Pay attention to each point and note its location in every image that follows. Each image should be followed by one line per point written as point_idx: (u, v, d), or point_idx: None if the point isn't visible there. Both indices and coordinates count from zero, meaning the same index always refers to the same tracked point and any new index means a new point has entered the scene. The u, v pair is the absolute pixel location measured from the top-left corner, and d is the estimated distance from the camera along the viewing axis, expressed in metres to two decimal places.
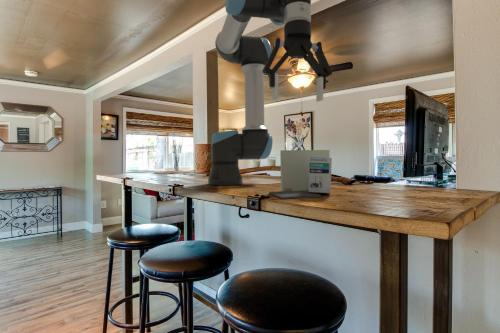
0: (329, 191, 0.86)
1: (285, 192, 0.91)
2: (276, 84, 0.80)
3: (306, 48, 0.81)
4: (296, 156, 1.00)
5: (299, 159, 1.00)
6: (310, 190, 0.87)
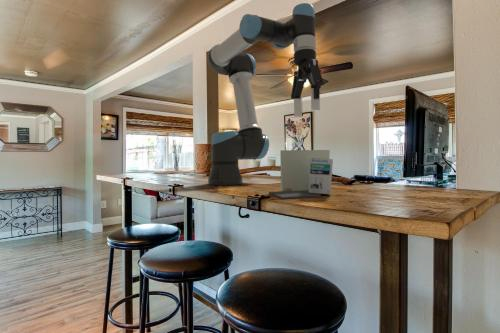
0: (329, 192, 0.86)
1: (285, 192, 0.91)
2: (294, 106, 1.07)
3: (302, 71, 0.98)
4: (296, 156, 1.00)
5: (299, 159, 1.00)
6: (310, 191, 0.87)
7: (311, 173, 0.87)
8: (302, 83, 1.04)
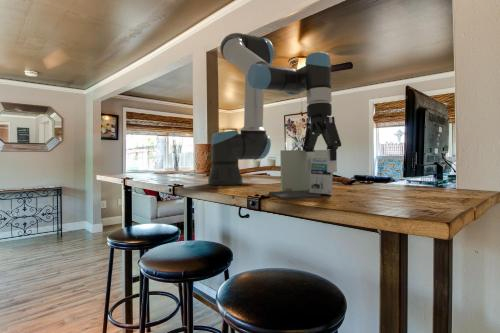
0: (330, 192, 0.86)
1: (285, 192, 0.91)
2: (306, 160, 0.97)
3: (317, 126, 0.89)
4: (296, 156, 1.00)
5: (299, 159, 1.00)
6: (311, 191, 0.87)
7: (312, 173, 0.87)
8: (316, 136, 0.94)
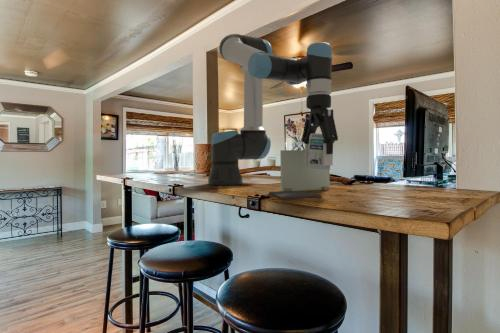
0: (328, 168, 0.87)
1: (285, 192, 0.91)
2: (305, 152, 0.98)
3: (315, 118, 0.89)
4: (296, 156, 1.00)
5: (299, 159, 1.00)
6: (309, 166, 0.88)
7: (311, 148, 0.87)
8: (314, 128, 0.95)
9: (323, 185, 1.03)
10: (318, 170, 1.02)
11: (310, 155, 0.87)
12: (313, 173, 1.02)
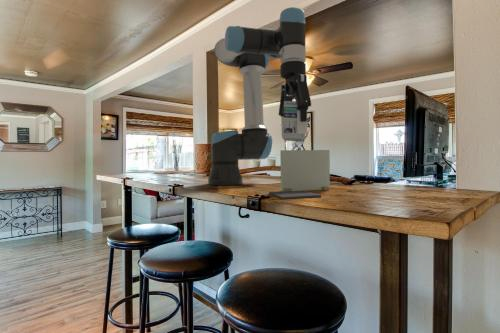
0: (303, 136, 0.83)
1: (285, 192, 0.91)
2: (281, 125, 0.94)
3: (289, 86, 0.85)
4: (296, 156, 1.00)
5: (299, 159, 1.00)
6: (283, 135, 0.84)
7: (284, 117, 0.83)
8: (290, 99, 0.91)
9: (323, 185, 1.03)
10: (318, 170, 1.02)
11: (284, 124, 0.83)
12: (313, 173, 1.02)
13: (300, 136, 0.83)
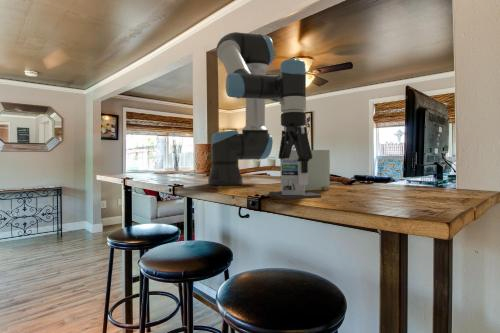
0: (303, 193, 0.83)
1: None
2: (281, 169, 0.95)
3: (290, 136, 0.86)
4: (296, 156, 1.00)
5: None
6: (283, 193, 0.84)
7: (283, 175, 0.84)
8: (290, 145, 0.92)
9: (323, 185, 1.03)
10: (318, 170, 1.02)
11: (283, 181, 0.84)
12: (313, 173, 1.02)
13: (300, 193, 0.83)
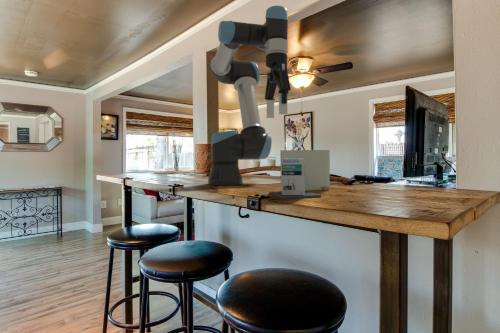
0: (303, 193, 0.83)
1: None
2: None
3: (273, 74, 1.00)
4: (296, 156, 1.00)
5: None
6: (283, 193, 0.84)
7: (283, 175, 0.84)
8: (274, 85, 1.05)
9: (323, 185, 1.03)
10: (318, 170, 1.02)
11: (283, 181, 0.84)
12: (313, 173, 1.02)
13: (300, 193, 0.83)
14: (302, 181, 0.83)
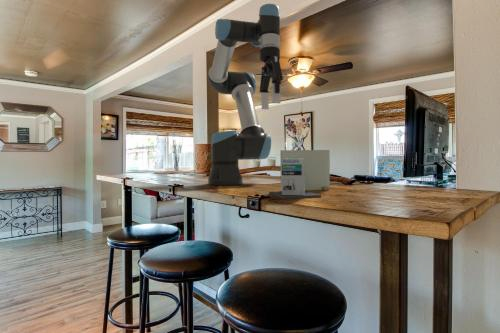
0: (303, 193, 0.83)
1: None
2: None
3: (266, 67, 1.06)
4: (296, 156, 1.00)
5: None
6: (283, 193, 0.84)
7: (283, 175, 0.84)
8: (268, 78, 1.12)
9: (323, 185, 1.03)
10: (318, 170, 1.02)
11: (283, 181, 0.84)
12: (313, 173, 1.02)
13: (300, 193, 0.83)
14: (302, 181, 0.83)
